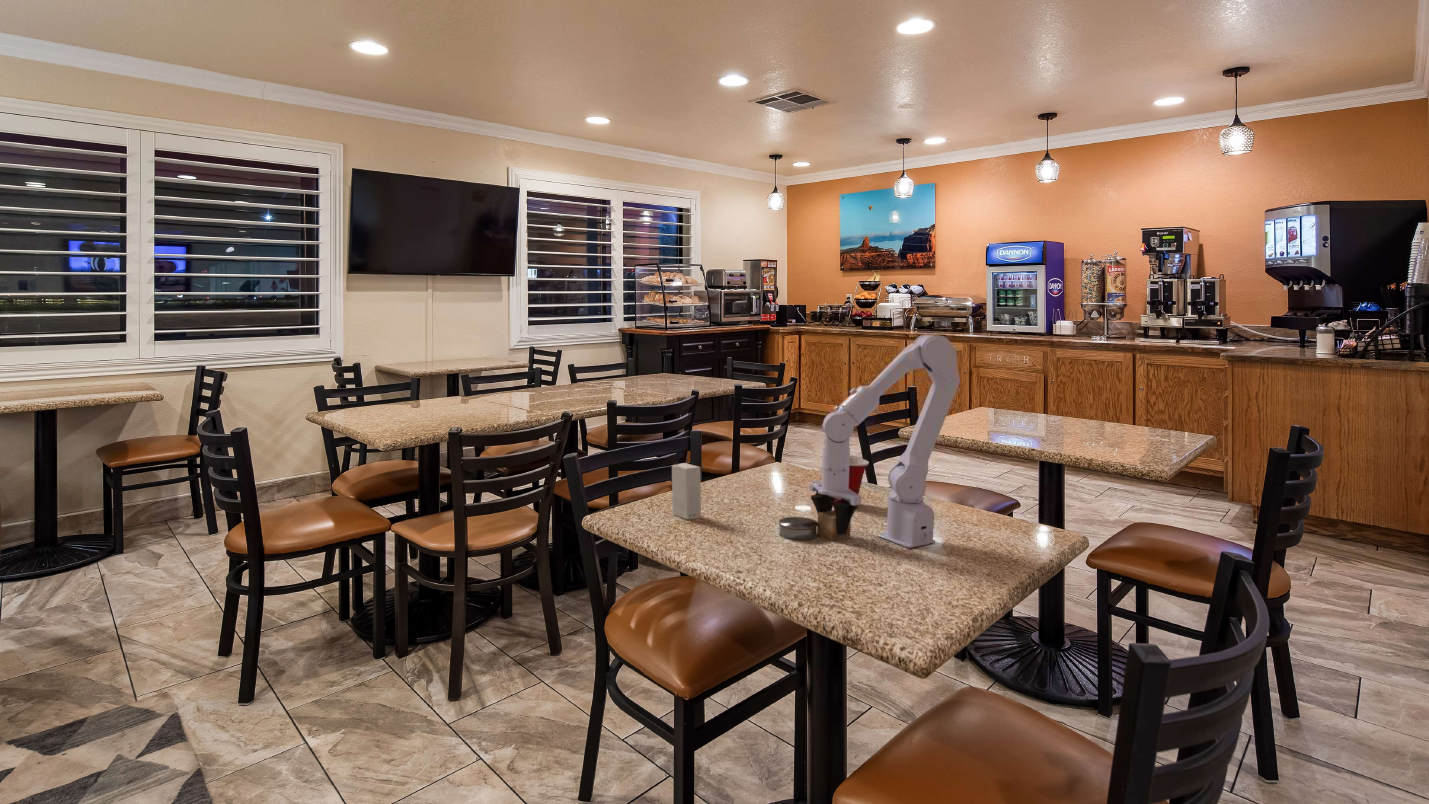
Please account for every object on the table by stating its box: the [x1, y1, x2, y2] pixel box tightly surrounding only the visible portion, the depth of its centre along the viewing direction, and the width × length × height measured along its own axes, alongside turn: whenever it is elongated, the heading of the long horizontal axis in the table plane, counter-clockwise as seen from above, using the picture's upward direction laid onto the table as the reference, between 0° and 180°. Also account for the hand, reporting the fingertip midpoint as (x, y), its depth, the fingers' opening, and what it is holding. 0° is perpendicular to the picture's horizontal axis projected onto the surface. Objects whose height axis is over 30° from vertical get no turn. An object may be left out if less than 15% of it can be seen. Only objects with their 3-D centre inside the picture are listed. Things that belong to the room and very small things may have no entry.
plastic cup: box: [834, 455, 870, 502], centre depth 187 cm, size 11×11×12 cm
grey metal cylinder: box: [778, 516, 818, 542], centre depth 162 cm, size 8×8×3 cm
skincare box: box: [671, 462, 702, 521], centre depth 174 cm, size 6×4×12 cm
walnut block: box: [816, 509, 852, 542], centre depth 161 cm, size 5×5×5 cm
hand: (833, 530), depth 161 cm, fingers closed on walnut block, 5 cm apart
